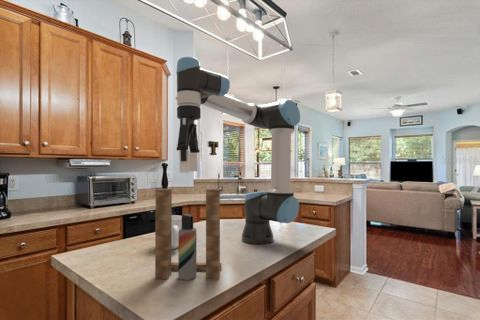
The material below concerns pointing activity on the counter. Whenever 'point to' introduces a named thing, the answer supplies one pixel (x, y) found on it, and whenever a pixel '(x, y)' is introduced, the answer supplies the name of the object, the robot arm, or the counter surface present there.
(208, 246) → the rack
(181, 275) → the lotion bottle
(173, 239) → the mug
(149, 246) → the counter surface
